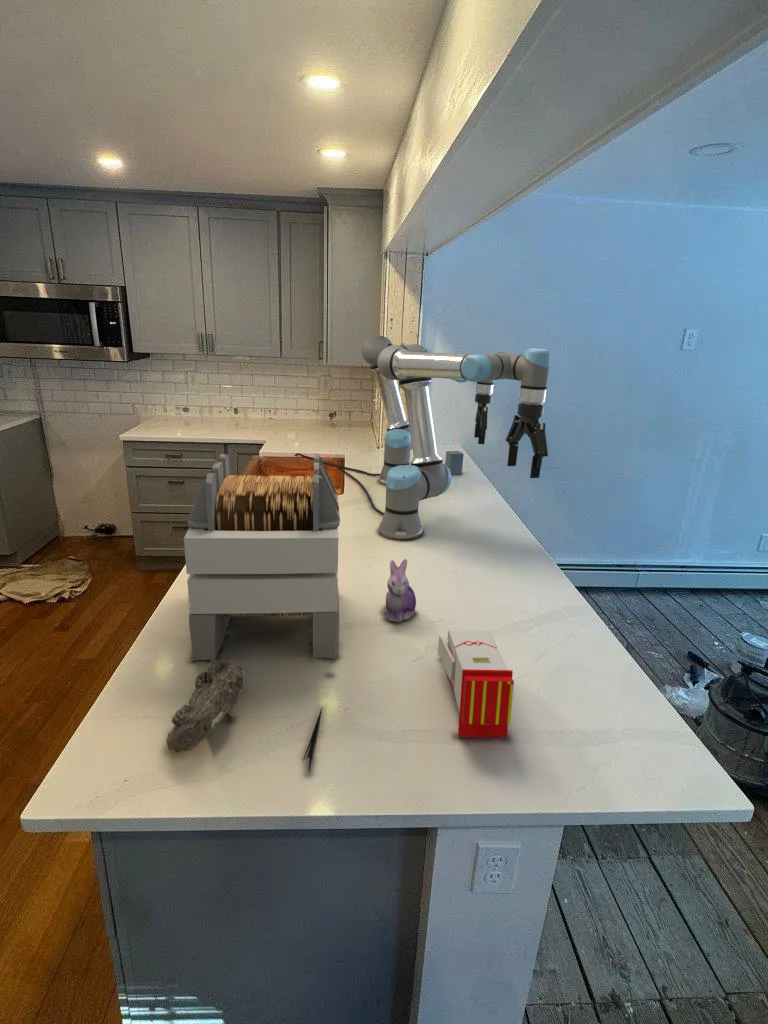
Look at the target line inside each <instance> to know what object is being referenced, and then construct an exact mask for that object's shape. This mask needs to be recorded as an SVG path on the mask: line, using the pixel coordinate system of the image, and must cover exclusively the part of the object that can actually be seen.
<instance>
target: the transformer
mask: <svg viewBox="0 0 768 1024" xmlns="http://www.w3.org/2000/svg"><path fill="white" fill-rule="evenodd" d="M313 458H314V460H313V473H312V474H313V475H307V476H303V475H296V476H294V475H293V476H291V475H268V476H267V475H265V476H263V475H251V474H250V475H236V474H233V475H232V474H231V469H230V457H229V454H228V453H226V454H225V453H220V455H219V457H218V459H217V461H214V464H213V466H212V468H211V471H210V472H208V473H207V474H206V476H205V479H204V481H203V483H202V485H201V488H200V490H199V492H198V495H197V497H196V500H195V502H194V503H193V506H192V508H191V510H190V513H189V516H188V518H187V527H188V530H187V532H186V534H185V535H184V537H183V545H184V556H185V570H186V575H188V578H187V580H186V581H187V582H186V583H187V591H188V592H187V593H188V594H187V595H188V605H189V606H188V608H189V612H188V622H189V623H188V625H189V637H190V644H191V654H192V656H191V660H192V661H195V662H199V661H212V660H216V658H217V655H218V653H219V651H220V649H221V647H222V644H223V643H224V640H225V638H226V627H229V623H230V620H231V617H250V616H251V617H280V616H282V617H284V616H285V617H286V616H296V617H297V616H312V658H313V659H318V658H319V659H320V658H321V659H324V658H327V659H336V658H337V657H339V656H340V599H339V577H338V573H339V572H338V571H339V530H338V529H339V527H340V525H341V524H340V522H341V516H340V515H341V514H340V506H339V505H340V504H339V497H338V491H337V489H336V487H335V485H334V483H333V481H332V479H331V477H330V474H329V472H328V470H327V468H326V466H325V464H323V462H322V461H323V459H322V458H321V456H320V454H313Z"/></svg>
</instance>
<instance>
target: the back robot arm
mask: <svg viewBox="0 0 768 1024" xmlns="http://www.w3.org/2000/svg"><path fill="white" fill-rule="evenodd" d="M392 345H394V344H393V343H392V341H391V340H390V339H389V338H388V337H385V336H384V335H376V336H371V337H369V338H367V339H366V340H365V341H364V342H363V343H362V346H361V357H362V358H363V360H364V361H365V362H366V363H367V364H369V368H370V371H371V372H373V373H374V375H375V379H376V382H377V386H378V390H379V394H380V398H381V402H382V405H383V409H384V413H385V417H386V420H387V426H386V428H385V430H386V432H385V433H384V434H385V435H384V440H383V441H384V448H383V449H384V450H383V465H382V468H381V470H380V473H372V472H371V473H370V472H368V471H365V470H361V469H357V468H353V467H352V468H351V467H348V466H343V465H338V464H335V463H331V462H326V461H323V460H322V462H323V464H324V465H326V466H329V467H330V466H331V467H334V468H337V467H339V468H341V469H343V470H347V471H352V472H356V473H357V472H358V473H362V474H364V475H367V476H371V477H378V482H379V484H381V485H383V486H386V480H387V473H388V471H389V470H390V469H391V468H393V467H396V466H400V465H403V466H404V465H410V462H411V460H410V459H411V451H412V450H413V449H412V442H411V435H410V428H409V421H408V419H407V418H406V417H407V416H406V413H405V408H404V405H403V402H402V397H401V394H400V389H399V384H398V380H390V379H387V378H385V377H384V376H383V375H382V374H381V373H380V371H379V369H378V363H377V362H378V357H379V355H380V353H381V351H382V350H383V349H385V348H386V347H388V346H392ZM450 380H452V381H455V382H456V383H461V384H462V383H465V382H468V380H460V379H450ZM494 385H495V380H487V381H481V382H476V386H475V397H474V402H475V403H476V404H477V409H476V414H475V419H474V421H475V426H474V435H473V436H474V437H473V438H478V439H477V444H478V445H485V443H486V442H485V441H486V433H487V429H488V411H489V407H488V406H487V405H489V404H492V403H493V393H494V389H496V387H495V386H494ZM293 456H294V457H297V456H300V457H303V458H305V459H308V460H310V461H314V457H311V456H308V455H305V454H303V453H299V452H298V453H295V454H294V455H293Z"/></svg>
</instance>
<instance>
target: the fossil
mask: <svg viewBox="0 0 768 1024" xmlns="http://www.w3.org/2000/svg"><path fill="white" fill-rule="evenodd" d="M243 670H244V669H243V667H242V665H240V664H237V662H236V661H235V660H234V659H232V658H231V659H227V658H226V659H224V660H223V661H222V660H217V659H215V660H210V663H209V665H208V666H207V671H201V672H199V673H198V674H197V675H196V676H195V680H194V684H195V685H194V687H195V689H194V690H193V693H192V694H191V697H190V698H189V700H188V704H184V705H182V706H181V707H180V709H177V710H176V711H175V713H174V715H173V716H172V718H171V723H172V724H173V727H172V730H171V731H170V732H168V734H167V738H166V741H167V742H166V745H167V749H168V750H169V751H173V752H174V753H176V754H178V753H182V752H188V751H189V752H192V751H193V750H195V748H196V747H197V746H199V744H200V743H201V742H203V741H204V740H205V739H206V738H207V737H208V736H209V735H210V734H211V733H212V732H214V730H215V729H217V727H218V726H219V724H220V722H221V721H222V720H223V719H224V718H225V716H226V717H227V719H229V720H233V717H232V715H230V714H229V710H230V709H231V708H234V706H235V704H236V703H237V702H238V699H239V697H240V695H241V693H242V691H243V690H245V689H244V688H245V675H244V671H243Z"/></svg>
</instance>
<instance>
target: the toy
mask: <svg viewBox="0 0 768 1024" xmlns="http://www.w3.org/2000/svg"><path fill="white" fill-rule="evenodd" d="M446 640H447V643H446V641H445V639H444V636H443V635H442V634H439V637H438V646H437V656H438V657H439V659H440V661H441V663H442V666H443V668H444V670H445V672H446V674H447V677H448V679H449V681H450V684H451V687H452V690H453V693H454V697H455V701H456V705H457V708H458V711H459V714H458V715H459V716H458V730H457V731H458V732H457V737H458V738H508V731H509V726H510V725H511V717H512V707H513V697H514V696H513V695H514V684H515V680H514V679H513V673H514V671H513V670H512V669H508V667H507V665H506V662H505V661H504V659H503V658H502V655H501V653H500V651H499V649H498V647H497V643H496V639H495V637H494V635H493V634H491V632H490V631H489V629H467V628H466V629H465V628H463V629H461V628H460V629H459V628H448V630H447V639H446Z"/></svg>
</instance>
